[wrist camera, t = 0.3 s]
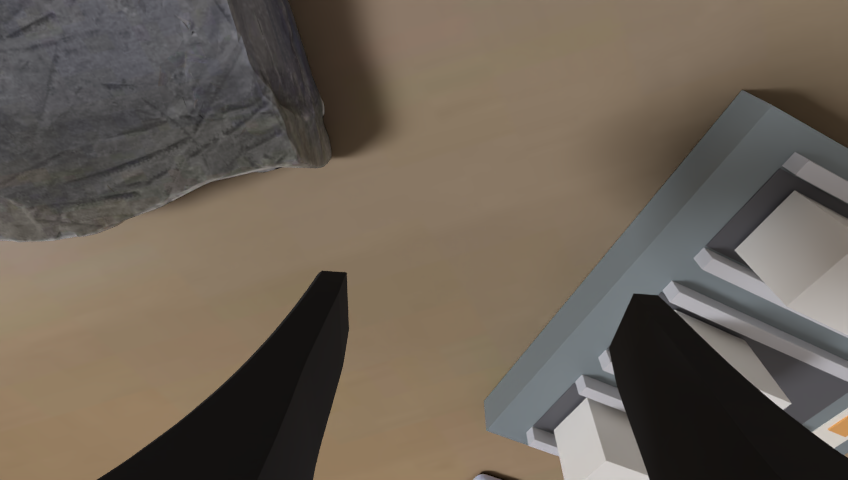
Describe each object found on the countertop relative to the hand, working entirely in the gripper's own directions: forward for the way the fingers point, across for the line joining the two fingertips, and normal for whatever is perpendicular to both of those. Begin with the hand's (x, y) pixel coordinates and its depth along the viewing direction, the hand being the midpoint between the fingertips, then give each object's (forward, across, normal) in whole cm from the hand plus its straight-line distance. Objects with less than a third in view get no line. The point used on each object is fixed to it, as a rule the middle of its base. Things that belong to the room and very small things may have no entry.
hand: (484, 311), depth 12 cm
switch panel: (+8, -15, +9) cm, 19 cm away
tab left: (+6, -9, +14) cm, 17 cm away
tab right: (+7, -13, +2) cm, 15 cm away
